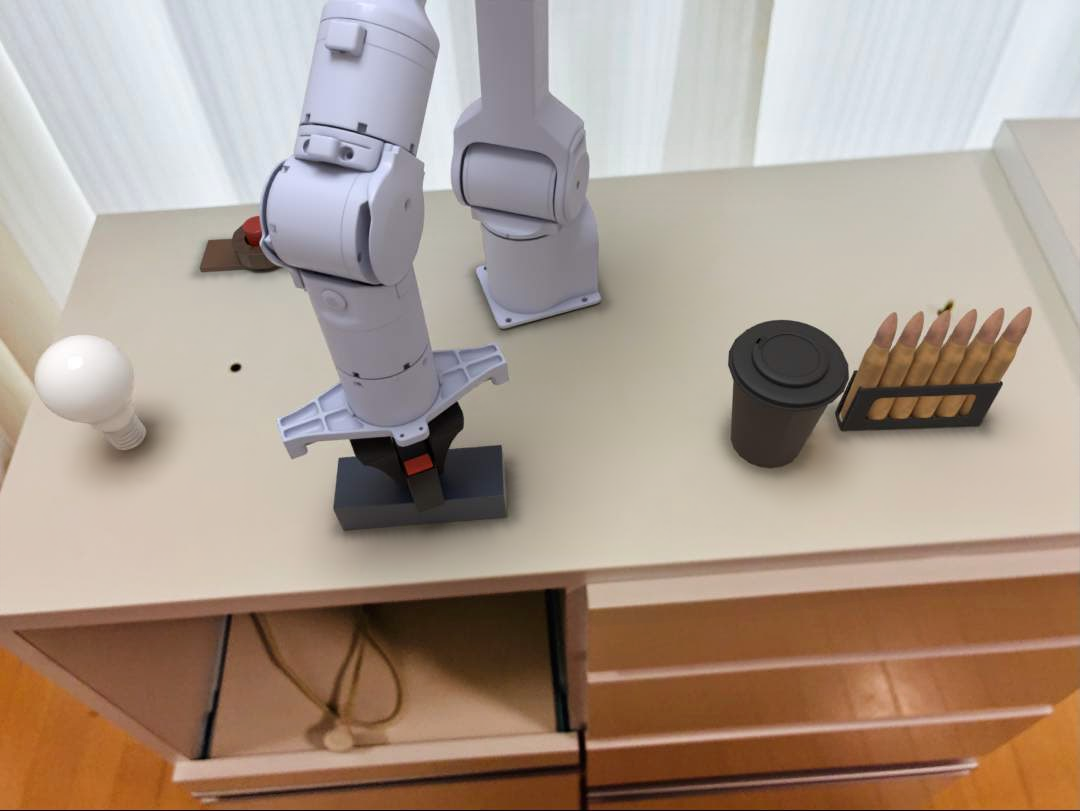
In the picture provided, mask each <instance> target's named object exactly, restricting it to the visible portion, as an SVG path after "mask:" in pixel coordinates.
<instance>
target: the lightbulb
mask: <svg viewBox="0 0 1080 811" xmlns="http://www.w3.org/2000/svg"><path fill="white" fill-rule="evenodd" d="M33 375H34V376H33V381H34V387H35V391H36V393H37V394H36V395H37V396H38V398H39V399H40V401H41V403H42V404H43V405H44V406H45V407H46V408H47V409H48V410H49V411H50V412H52V413H53V414H54V415H56V416H58V417H60V418H61V419H64V420H67V421H70V422H72V423H73V422H74V423H79V424H86V425H89V426H90V427H92V429H93V428H94V429H95V430H97V431H99V432H101V433H102V434H103V435H104V436H105V438H106V439H107V440H108V442H109V443H110V444H111V445H112V446H113V448H114V449H117V450H119V451H129V450H132V449H134V448H136V447H138V446H139V445H140V444H142V442H143V441H144V440H145V439H146V436H147V429H146V427H145V425H144V424H143V422H142V421H141V419H139V417H138V416H137V414H136V413H135V407H134V406H135V405H134V402H133V401H132V396H133V393H134V388H135V382H136V381H135V379H136V378H135V370H134V367H133V365H132V362H131V360H130V359H129V357H128V356H127V354H126V353H125V351H124V350H122V349H121V347H119V345H117V344H115V343H114V342H112V341H110V340H108V339H106V338H104V337H101V336H97V335H92V334H76V335H70V336H66V337H63V338H61V339H59V340H57V341H55V342H54V343H53V344H51V345H50V346H48V347H47V349H45V350H44V352H42V354H41V355H40V357H39V359H38V361H37V362H36V365H35V369H34V374H33Z"/></svg>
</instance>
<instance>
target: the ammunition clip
mask: <svg viewBox="0 0 1080 811" xmlns="http://www.w3.org/2000/svg"><path fill="white" fill-rule="evenodd" d="M1032 314H1033V309H1032V307H1031V306H1027V307H1024V308H1023V309H1022V310H1021V311H1019V312H1018V313H1017V314H1016V315H1015V316H1014V317H1013V318H1012V320H1011V321H1010V322H1009V323H1008V324H1007V326H1006V328H1005V329H1004V331H1003V332H1002V333H1001V335H1000V332H1001V330H1002V327H1003V323H1004V320H1005V309H1004V307H1000V308H999V307H998V308H997V309H996V310H995V311H993V313H991V314H990V315H989V316H988V317H987V318H986V320H985V321H984V322H983V324H982V325H981V326H980V328H979V330H978V331H977V333H976V334H975V335H974V337H973V334H974V331H975V329H976V326H977V320H978V311H977V309H976V308H973V309H970V310H969V311H968V312H967V313H965V315H964V316H962V318H960V319H959V321H958V323H956V325H955V326H954V329H953V331H952V332H951V333H950V335H949V337H948V338H947V334H948V332H949V328H950V324H951V319H952V318H951V316H952V315H951V311H950V310H949V309H946V310H944V311H943V312H941V313H940V314H939V315H938V316H937V317H936V319H935V320H934V321H933V322H932V323H931V325H930V327H929V328H928V330H927V332H926V333H925V335H924V337H923V339H921V340H922V341H921V342H920V344H919V340H920V338H921V336H922V332H923V329H924V326H925V325H924V324H925V315H924V311H923V310H920V311H918V312H916V313H915V314H914V315H912V317H911V318H910V319H909V321H908V322H907V323H906V325H905V326H904V328H903V330H902V332H901V334H900V336H899V337H898V339H897V340H896V343H895V344H894V346H893V342H894V340H895V337H896V333H897V329H898V320H899V319H898V314H897V312H896V311H893V312H891V313H890V314H889V315H887V317H886V318H885V319H884V320H883V321H882V323H881V324H880V326H879V328H878V329H877V331H876V333H875V336H874V337H873V339H872V342H871V343H870V345H869V347H868V348H867V349H866V350H865V352H864V355H863V356H862V359H861V361H860V364H859V367H858V369H856V370H855V369H854V370H853V372H852V375H851V376H850V378H849V380H848V382H847V385H846V387H845V389H844V392H843V393H842V396H841V398H840V400H839V403H838V405H837V407H836V408H835V410H834V415H835V417H836V420H837V424H838V427H839V430H840V431H841V432H855V431H856V432H862V431H885V430H886V431H887V430H888V431H889V430H913V429H914V430H915V429H941V428H944V429H945V428H966V427H970V428H971V427H980V426H981V425H982V423H983V421H984V420H985V417H986V416H987V413H988V412H989V411H990V409H991V407H992V405H993V403H994V402H995V400H996V398H997V396H998V394H999V392H1000V391H1001V389H1002V387H1003V385H1004V383H1003V380H1002V379H1003V378H1004V376H1005V374H1006V372H1007V371H1008V370H1009V367H1010V366H1011V365H1012V363H1013V361H1014V359H1015V357H1016V355H1017V352H1018V348H1019V346H1020V344H1021V342H1022V340H1023V338H1024V336H1025V334H1026V333H1027V331H1028V328H1029V326H1030V324H1031V319H1032ZM999 335H1000V337H999ZM972 337H973V339H972ZM998 337H999V338H998ZM946 338H947V340H946ZM997 338H998V339H997ZM971 339H972V340H971ZM945 340H946V342H945V343H944V341H945ZM970 340H971V341H970ZM969 342H970V343H969ZM918 344H919V345H918Z"/></svg>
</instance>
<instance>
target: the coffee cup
mask: <svg viewBox="0 0 1080 811" xmlns="http://www.w3.org/2000/svg"><path fill="white" fill-rule="evenodd" d="M727 366H728V369H729V373H730V376H731V378H732V380H733V381H732V401H731V402H732V404H731V419H730V420H731V422H730V441H731V445H732V448H733V449H734V451H735V452H736V453H737V456H739V457H740V458H741V459H743V460H744V461H745V462H747V463H749V464H751V465H754V466H756V467H758V468H765V469H777V468H782V467H784V466H787V465H788V464H791V463H792V462H793V461H794V460H795V459H796V458H798V456H799V455H800V453H801V452H802V450H803V448H804V446H805V444H806V443H807V441H808V440H809V438H810V436H811V434H812V433H813V431H814V429H815V428H816V426H817V424H818V423H819V421H820V420H821V417H822V416H823V414H824V413H825V411H826V409H827V408H828V406H829V405H830V404H833V403H834V402H835V400H837V399H838V398H839V397H841V395H843V394H844V391H845V389H846V387H847V385H848V383H849V381H850V372H849V371H850V370H849V362H848V360H847V358H846V355H845V354H844V352H843V350H842V348H841V347H840V345H839V344H838V343H837V342H836V341H835V339H834V338H832V337H831V336H830V335H829V334H827V333H826V332H825V331H823V330H822V329H819V328H818V327H816V326H813V325H811V324H808V323H806V322H803V321H802V322H801V321H797V320H791V319H772V320H767V321H762V322H760V323H756V324H755V325H752V326H751V327H749V328H747V329H746V330H744V331H743V332H742V333H740V334H739V335H738V336H737V337H736V338H735V339H734V341H733V343H732V345H731V346H730V348H729V349H728V358H727Z"/></svg>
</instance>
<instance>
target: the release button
mask: <svg viewBox="0 0 1080 811" xmlns="http://www.w3.org/2000/svg"><path fill="white" fill-rule="evenodd" d="M242 225H243V230H244V232H245V235H246V237H247V239H248V242H249V243H250V244H251V245H252V246H260V240H261V238H262V229H261V224H260V215H255V216H251V217H249V218H248V219H246V220H245V221H244V222H243V224H242Z"/></svg>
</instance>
